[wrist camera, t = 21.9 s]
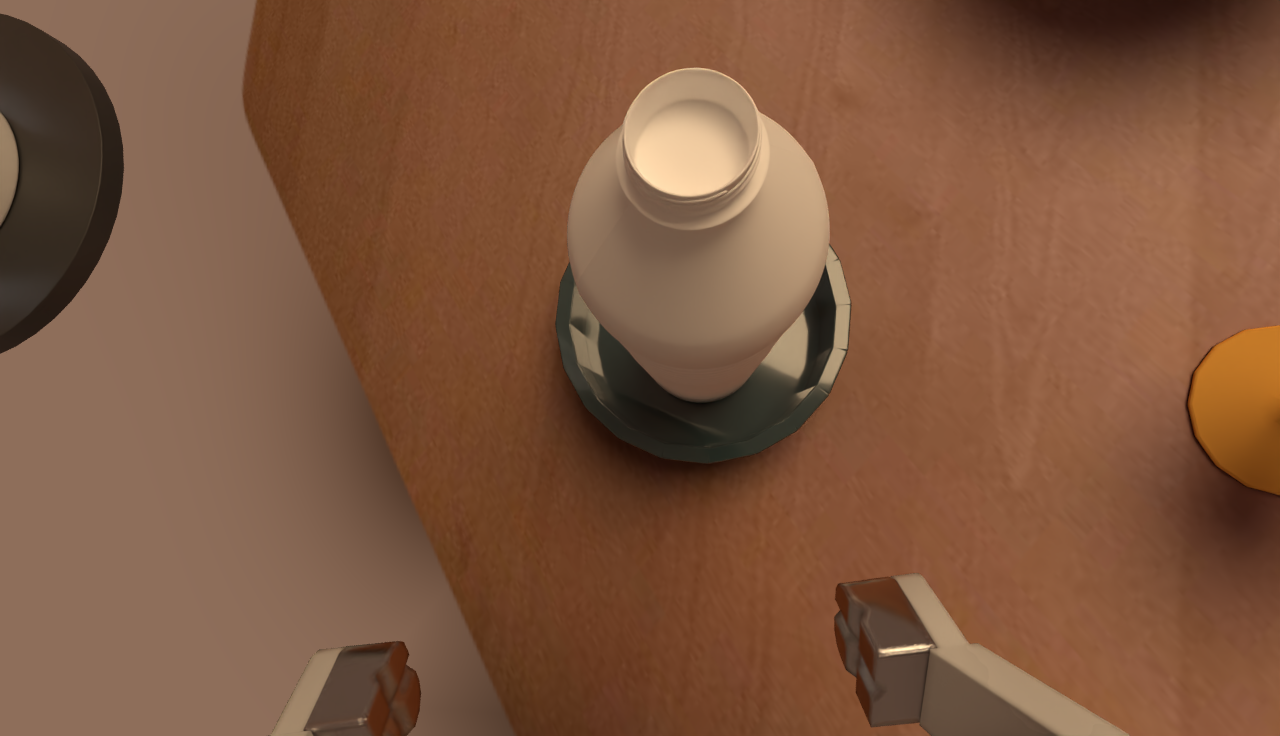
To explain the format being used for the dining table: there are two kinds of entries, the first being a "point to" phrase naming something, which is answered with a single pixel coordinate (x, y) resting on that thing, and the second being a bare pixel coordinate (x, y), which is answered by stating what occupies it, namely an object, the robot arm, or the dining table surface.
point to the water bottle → (698, 233)
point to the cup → (1241, 407)
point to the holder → (718, 428)
